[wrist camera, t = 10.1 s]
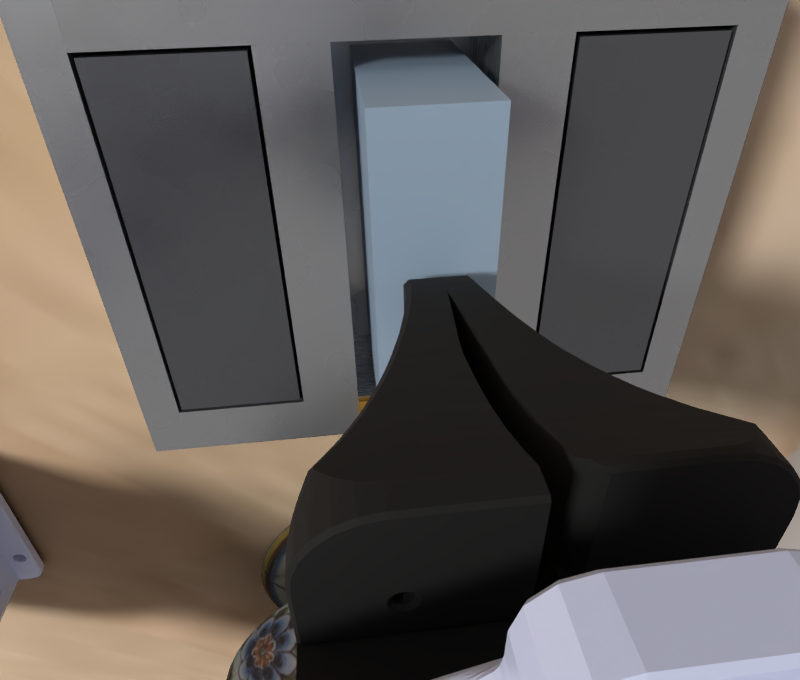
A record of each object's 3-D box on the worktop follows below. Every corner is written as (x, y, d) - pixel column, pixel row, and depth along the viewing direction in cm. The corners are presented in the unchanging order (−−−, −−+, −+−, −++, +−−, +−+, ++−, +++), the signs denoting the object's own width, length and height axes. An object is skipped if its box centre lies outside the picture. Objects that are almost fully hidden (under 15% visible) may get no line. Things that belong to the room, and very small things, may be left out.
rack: (612, 342, 23) (663, 417, 20) (183, 378, 22) (158, 465, 18) (704, -64, 16) (812, -56, 12) (58, -45, 14) (-22, -31, 11)
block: (444, 303, 20) (484, 428, 15) (366, 310, 20) (382, 438, 15) (450, 40, 16) (510, 100, 11) (349, 44, 15) (364, 107, 11)
